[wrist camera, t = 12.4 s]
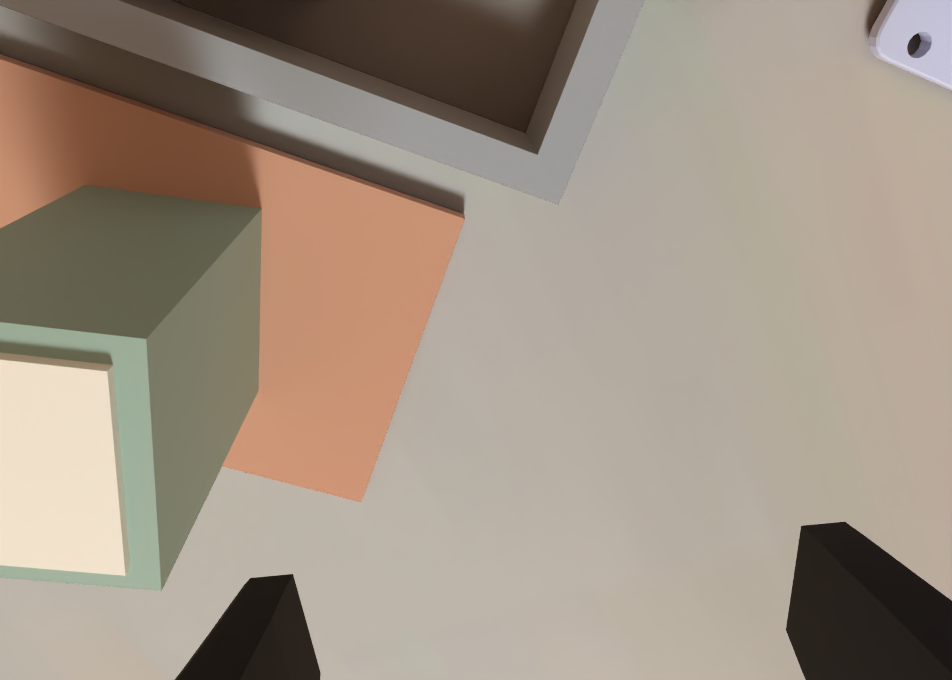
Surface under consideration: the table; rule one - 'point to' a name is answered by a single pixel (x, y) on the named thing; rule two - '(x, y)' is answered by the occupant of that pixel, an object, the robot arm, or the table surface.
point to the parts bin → (378, 84)
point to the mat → (282, 261)
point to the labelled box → (120, 378)
